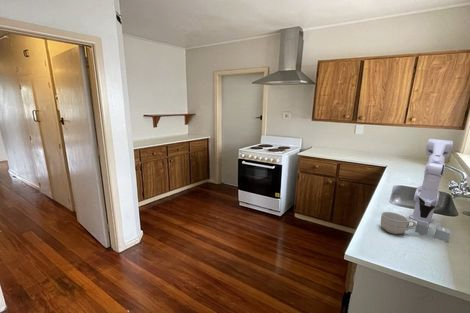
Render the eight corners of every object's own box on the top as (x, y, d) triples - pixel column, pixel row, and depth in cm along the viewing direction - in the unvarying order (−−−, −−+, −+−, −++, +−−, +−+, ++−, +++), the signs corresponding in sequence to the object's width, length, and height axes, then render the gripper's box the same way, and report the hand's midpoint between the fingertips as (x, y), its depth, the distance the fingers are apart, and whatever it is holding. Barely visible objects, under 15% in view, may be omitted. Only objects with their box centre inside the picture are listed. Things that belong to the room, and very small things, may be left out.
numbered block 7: (398, 222, 119) (400, 214, 118) (408, 226, 117) (410, 217, 115) (397, 226, 116) (399, 217, 115) (407, 229, 113) (410, 221, 112)
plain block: (415, 228, 115) (417, 220, 113) (426, 231, 112) (429, 223, 111) (414, 232, 111) (416, 223, 110) (426, 235, 108) (428, 227, 107)
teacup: (377, 231, 111) (380, 216, 109) (380, 222, 119) (383, 208, 117) (413, 242, 102) (417, 226, 101) (413, 232, 111) (417, 217, 109)
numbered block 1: (434, 234, 110) (437, 225, 109) (447, 238, 107) (449, 229, 106) (434, 238, 107) (437, 229, 106) (447, 242, 104) (450, 233, 103)
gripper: (418, 181, 114) (412, 206, 117) (419, 190, 102) (412, 217, 106) (436, 185, 110) (429, 210, 113) (440, 194, 98) (432, 222, 102)
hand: (422, 214), depth 109 cm, fingers open, 7 cm apart
